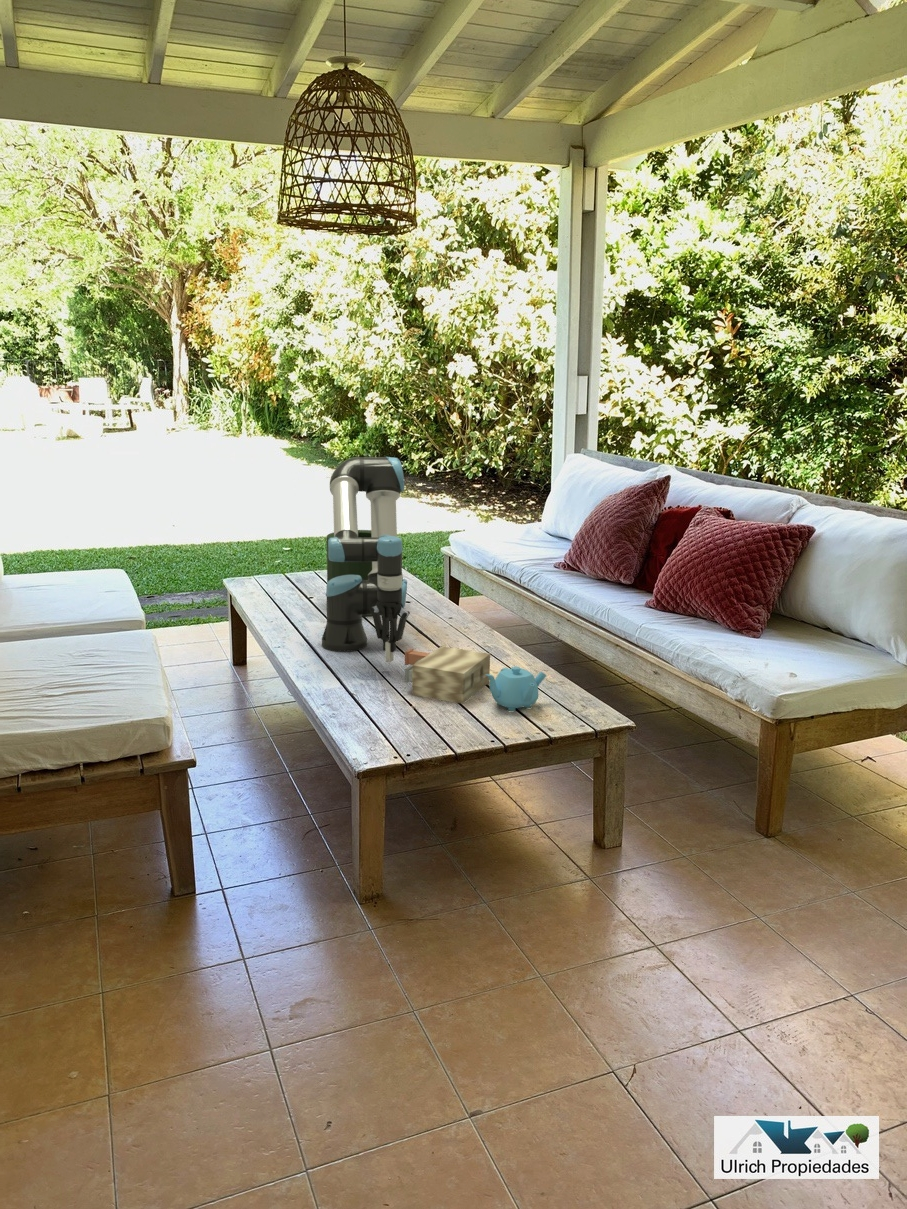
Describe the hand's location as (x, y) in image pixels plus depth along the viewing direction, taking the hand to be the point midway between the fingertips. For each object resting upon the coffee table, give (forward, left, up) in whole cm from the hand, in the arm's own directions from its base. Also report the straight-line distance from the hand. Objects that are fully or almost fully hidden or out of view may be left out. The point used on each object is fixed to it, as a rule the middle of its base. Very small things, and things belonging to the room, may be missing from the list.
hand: (389, 661), depth 297 cm
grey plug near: (+22, -14, 0) cm, 26 cm away
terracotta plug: (+15, 0, 0) cm, 15 cm away
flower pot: (-43, +58, -3) cm, 72 cm away
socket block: (+24, -7, -3) cm, 25 cm away
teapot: (+46, -12, -3) cm, 48 cm away
